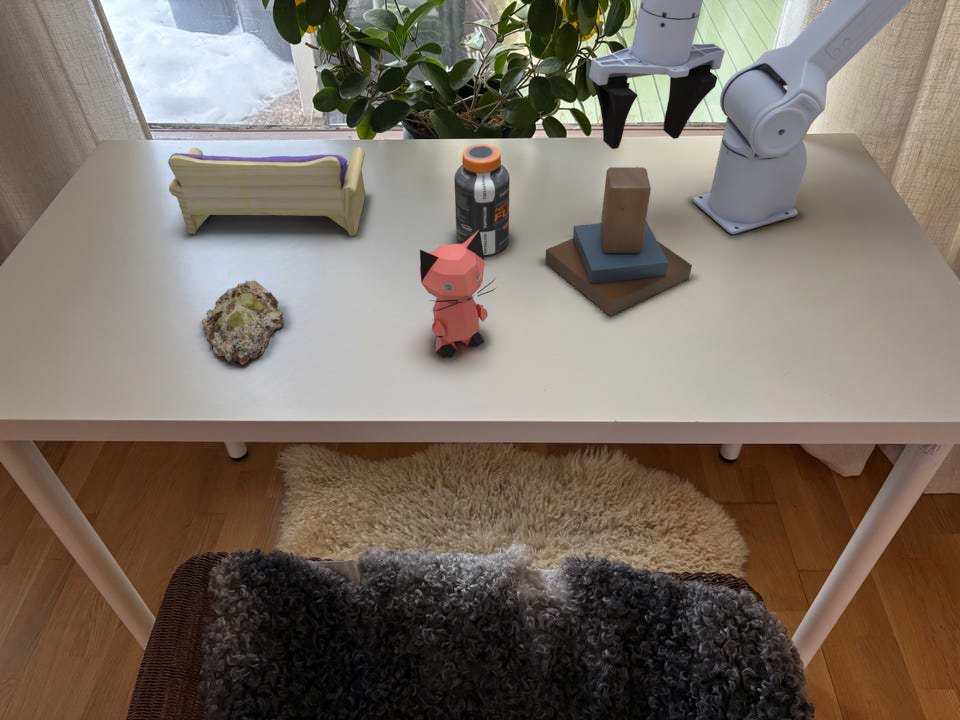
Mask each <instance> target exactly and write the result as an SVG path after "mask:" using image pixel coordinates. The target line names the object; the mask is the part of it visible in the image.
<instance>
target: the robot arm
mask: <svg viewBox="0 0 960 720" xmlns="http://www.w3.org/2000/svg"><path fill="white" fill-rule="evenodd" d="M911 1H912V0H831V2H830V3H828V4H827V6H826V7H825V8H824V9H823V10H822V11H821V12H820V13H819V14H818V15H817V16H816V17H815V18H814V19H813V20H812V21H811V23H810V24H808V25H807V26H806V27H805V29H804V30H803V31H802V32H801V33H800V34H798V36H796V38H795V39H793V41H792V42H791V43H790V44H789V45H785V46H782V47H777V48H774V49H770V50H766V51H764V52H763V53H762V55H760V57H758V58H757V59H756V60H755V61H754V62H752V63H751V64H750V65H748V66H746V67H744V68H742V69H740V70H738V71H737V72H735V73H734V74H733V75H732V76H730V78H729V79H728V80H726V82H725V84H724V86H723V87H722V90H721V92H720V97H719V105H720V108H721V111H722V112H723V114H724V116H726V120H725V125H724V130H723V132H722V137H721V142H720V146H719V151H718V156H717V161H716V164H715V170H714V175H713V179H712V183H711V187H710V188H711V189H710V192H705V193H703V194H699V195H696V196H693V198H692V202H693V203H694V204H695V205H696V206H697V207H698V208H699V209H701V210H702V211H703V212H704V213H706V215H708V216H709V217H710V218H711V219H712V220H714V221H715V222H716V223H717V224H718V225H720V226H721V228H723V229H724V230H725V231H726V232H728V233H729V234H730V235H736V234H739V233H743V232H746V231H749V230H753V229H756V228H760V227H763V226H767V225H769V224H770V225H771V224H773V223H777V222H779V221H783V220H787V219H790V218H793V217H797V216H798V213H799V212H798V210H797V209H796V208H795V204H796V201H797V198H798V195H799V191H800V188H801V184H802V181H803V178H804V176H805V175H804V174H805V171H806V168H807V164H808V154H807V148H806V145H805V143H804V141H803V140H804V139H805V137H806V136H807V135H808V134H807V133H808V131H809V130H810V129H811V126H812V124H813V123H814V122H815V120H817V118H818V117H819V116H820V115H821V114H823V113H824V111H825V110H826V104H827V103H826V102H827V92H828V83H829V82H830V80H831V79H832V78H833V77H834V76H835V75H836V74H838V73H839V72H840V71H841V69H843V68H844V67H845V66H846V65H847V64H848V63H849V62H850V61H851V60H852V59H853V58H854V57H855V56H856V55H857V54H858V53H859V52H860V51H861V50H862V49H863V48H864V47H865V46H866V45H868V43H870V41H871V40H872V39H874V37H875V36H876V35H878V33H880V32H881V31H882V30H883V29H884V28H885V27H886V26H887V25H888V24H889V23H890V22H891V21H892V20H893V19H894V18H895V17H896V16H897V15H898V14H899V13H900V12H901V11H902V10H903V9H904V8H905V7H906V6H907V5H908V4H909V3H911ZM639 3H640V4H639V9H638V14H637V19H636V24H635V30H634V35H633V39H632V45H630V46H628V47H625V48H623V49H620V50H617V51H615V52H611V53H609V54H607V55H603V56H598V57H592V58H591V62H590V69H589V75H588V77H589V79H590V80H591V83H592V85H593V87H594V88H593V89H594V91H595V93H596V96H597V101H598V104H599V108H600V114H601V123H602V137H603V139H602V141H603V142H604V143H605V144H606V145H607V146H608V147H609V148H610V149H611V150H615V149H617V150H618V149H619V147H620V145H621V142H622V139H623V135H624V130H625V125H626V122H627V118H628V115H629V113H630V111H631V109H632V106H633V105H634V102H635V101H636V99H637V98H638V94H637V93H636V92H635V91H634V90H632V89H631V88H630V85H631V83H630V82H628V79H632V78H640V77H646V76H648V77H649V76H654V75H659V76H660V75H662V76H664V75H665V76H668V77H669V92H668V101H667V106H666V110H665V115H664V120H663V132H664V133H666V134H667V135H668V136H669V137H670V138H672V139H673V140H677V139H679V137H680V136H681V135H682V132H683V130H684V129H685V127H686V125H687V123H688V122H689V120H690V118H691V117H692V115H693V113H694V112H695V110H696V108H697V107H698V106H699V105H700V103H701V102H702V101H703V100H704V99H705V97H706V96H708V94H709V93H710V92H711V91H712V90H713V89H715V88H716V86H717V82H718V76H717V75H715V73H713V72H711V70H713V71H715V70H720V69H721V68H722V67H721V66H722V64H723V59H724V56H725V50H724V49H723V48H722V47H720V46H719V45H717V44H716V43H714V42H713V43H694V39H695V36H696V35H695V34H696V31H697V26H698V23H699V19H700V16H701V11H702V7H703V3H704V0H640V2H639ZM786 86H787V89H786Z"/></svg>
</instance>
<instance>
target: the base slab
mask: <svg viewBox="0 0 960 720" xmlns="http://www.w3.org/2000/svg"><path fill="white" fill-rule="evenodd" d="M657 242H658V244H659V246H660V248H661V249H662V251H663V253H664V255H665V257H666V259H667V261H668V266H667V272H666V276H661V277H651V278H642V279H633V280H624V281H614V282H605V283H596V284H590V281H589V279H588V276H587V274H586V271H585V269H584V266H583V264H582V261H581V258H580V256H579V253H578V251H577V248H576V246H575V243H574V241H573V237H572V238H570V239H568V240H566V241H563V242H561V243H558V244H556V245H554V246H552V247H549V248H547V249H545V258H544V259H545V261H544V262H545V264H546V265H547V266H549V267H550V268H551V269H552V270H553V271H555V272H556V273H557V274H558V275H559V276H560V277H562V278H563V279H564V280H565V281H566V282H568V283H569V284H570V285H571V286H572V287H574V289H576V290H577V291H579V292H580V293H581V294H582V295H584V296H585V297H586V298H587V299H588V300H589V301H591V303H593V304H594V306H597V307H598V308H599V309H600V310H601V311H603V312H604V313H605V314H606V315H608V316H609V317H612V316H615V315H616V314H619V313H621V312H623V311H625V310H626V309H629V308H631V307H633V306H635V305H636V304H640V303H642V302H643V301H646V300H648V299H650V298H652V297H653V296H656V295H658V294H660V293H662V292H664V291H666V290H668V289H671V288H672V287H674V286H676V285H679V284H680V283H683V282H685V281H687V280H689V279H690V277H691V272H692V266H693V264H691V263H690V262H688V261H687V260H685V259H684V258H682V256H680V255H679V254H677V253H675V251H672V249H670V248H668V247H667V246H665V245H664V244H663V243H661V242H660V241H659V240H657Z"/></svg>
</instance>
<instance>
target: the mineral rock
mask: <svg viewBox="0 0 960 720" xmlns="http://www.w3.org/2000/svg"><path fill="white" fill-rule="evenodd" d="M205 315H207V316H206V317H204V318H202V320H201V325H203V328H204V330H205V331H204V332H205V335H206V338H207V340H208V343H209V344H210V345H212V346H213V348H212V351H213V353H214V354H215V355H217V356H218V357H224V358H225V360H227V362H228V363H229V362H230V363H233V362H237V363H239V364H240V365H241V366H244V365H246V364H247V363H248V362H249V360H251V359H256V358H258V357H260V356H261V355H263V353H264V352H265V349H266V348H268V346H269V344H270V339H271V335H273V333H274V332H275V331H276V330H280V329H281V327H282V325H283V324H284V321H285V319H284V316H283V315H284V313H283V312H282V311H281V309H280V308H279V300H278V299H277V298H276V297H275V296H274V294H273V293H272V292H269V290H267V288H265V287H264V286H263V285H261V284H260V283H259V282H258V281H257V280H245V281H244V283H243V282H241V283H238V284H237V285H236V286H235V287H232V288H228V289H226V291H225V292H224V293H223V294H222V295H220V296H219V297H218V299H216V301H215V306H214V308H213V309H210V308H209V309H208V310H207V311H206V314H205Z"/></svg>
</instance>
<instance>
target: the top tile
mask: <svg viewBox="0 0 960 720" xmlns="http://www.w3.org/2000/svg"><path fill="white" fill-rule="evenodd" d="M600 228H601V222H599V223H589V224H580V225H579V224H578V225H573V232H572V238H573V241H574V243H575V246H576V248H577V251H578V253H579V256H580V258H581V261H582V264H583V266H584V269H585V271H586V274H587V276H588V279H589V281H590V284H596V283H605V282H614V281H624V280H633V279H642V278H651V277H661V276H666V272H667V266H668V261H667V259H666V257H665V255H664V253H663V251H662V249H661V248H660V246H659V244H658V242H659V241H658V240H657V238H656V237H655V234H654V232H653V231H652V229H651V227H650V225H649V223H648V221H647V220H646V223H645V230H644V236H643V243H642V249H641V251H640V253H604V252H603V249H602V242H601V234H600ZM657 241H658V242H657Z"/></svg>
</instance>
